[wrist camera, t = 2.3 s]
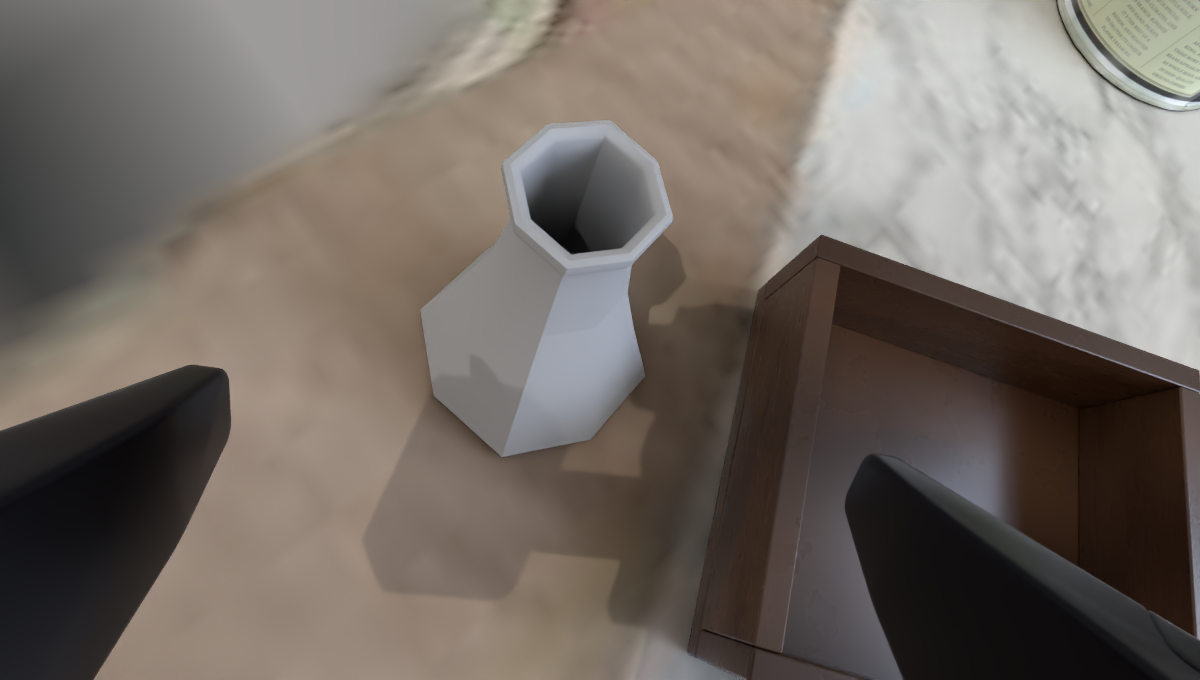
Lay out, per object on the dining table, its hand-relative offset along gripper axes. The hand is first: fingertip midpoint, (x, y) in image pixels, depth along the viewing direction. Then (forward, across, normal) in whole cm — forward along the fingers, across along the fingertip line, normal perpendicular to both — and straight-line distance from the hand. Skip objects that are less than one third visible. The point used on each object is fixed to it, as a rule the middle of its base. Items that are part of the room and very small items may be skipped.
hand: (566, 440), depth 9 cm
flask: (+12, 0, +5) cm, 13 cm away
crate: (+9, -14, +7) cm, 18 cm away
